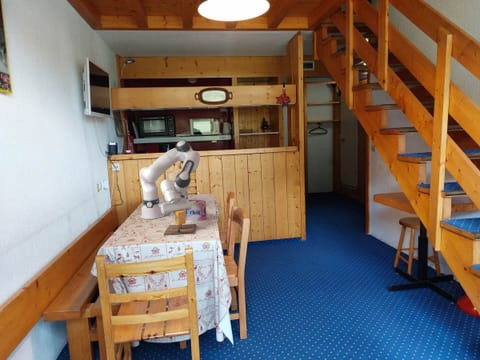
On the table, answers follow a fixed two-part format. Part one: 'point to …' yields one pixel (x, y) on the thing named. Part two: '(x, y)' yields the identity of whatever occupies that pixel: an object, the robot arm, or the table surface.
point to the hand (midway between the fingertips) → (180, 216)
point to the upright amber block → (180, 217)
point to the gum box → (197, 210)
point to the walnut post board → (180, 229)
